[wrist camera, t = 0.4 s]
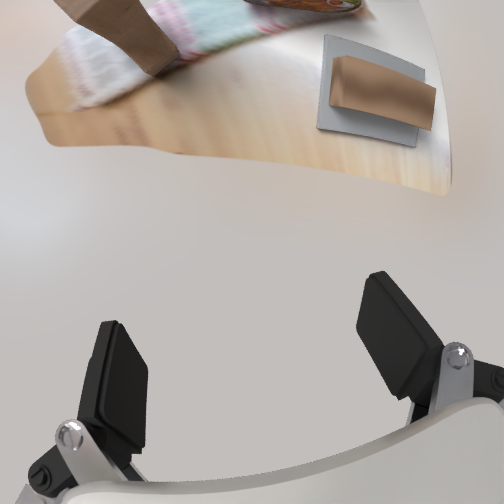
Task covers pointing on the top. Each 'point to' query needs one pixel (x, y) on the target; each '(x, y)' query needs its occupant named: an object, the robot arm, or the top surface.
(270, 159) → the top surface
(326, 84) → the plate
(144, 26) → the wooden block
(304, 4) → the tin
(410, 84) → the base block
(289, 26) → the top surface
